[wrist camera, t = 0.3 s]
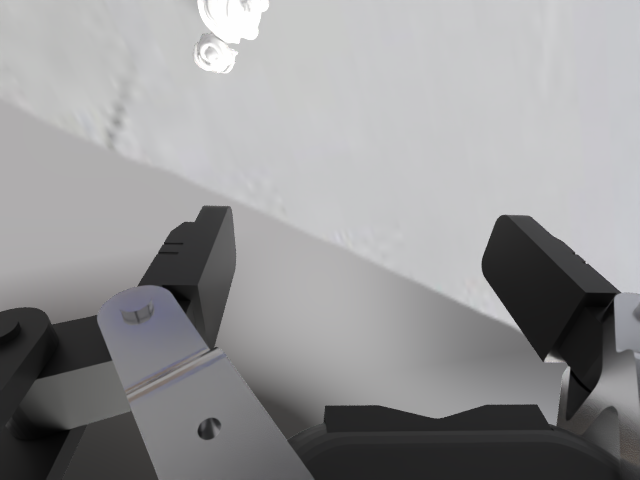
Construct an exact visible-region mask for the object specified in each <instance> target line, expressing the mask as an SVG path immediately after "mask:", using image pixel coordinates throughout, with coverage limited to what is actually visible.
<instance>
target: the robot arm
mask: <svg viewBox="0 0 640 480" xmlns="http://www.w3.org/2000/svg"><path fill="white" fill-rule="evenodd" d="M232 216H233V215H232V210H231V207H230V206H203V207H202V209H201V211H200V213H199V215H198V217H197V218H196V221H195V222H184V223H182V224H181V225H179V226H178V227H176V228H175V229H174V230H172V231H171V232H170V234H169V236H168V237H167V239H166V240H165V242H164V245H162V247H161V249H160V250H159V253H158V254H157V255H156V257H155V258H154V260H153V262H152V263H151V265H150V266H149V268H148V270H147V271H146V273H145V275H144V276H143V278H142V279H141V281H140V283H139V285H138V286H137V287H133V288H130V289H127V290H124V291H122V292H120V293H118V294H116V295H114V296H113V297H111V298H110V299H109V300H108V301H106V302H105V303H104V304H103V306H102V307H101V308H100V310H99V312H98V315H95V316H91V317H87V318H82V319H77V320H72V321H67V322H63V323H58V324H53V325H52V324H51V322H50V320H49V318H48V316H47V315H46V313H45V312H43V311H42V310H40V309H37V308H26V307H24V308H15V309H10V310H6V311H2V312H0V480H62V478H63V476H64V474H65V472H66V470H67V468H68V466H69V463H70V461H71V459H72V457H73V455H74V453H75V451H76V448H77V446H78V444H79V442H80V440H81V438H82V436H83V433H84V431H85V429H86V427H87V425H88V424H89V423H92V422H96V421H99V420H102V419H105V418H109V417H112V416H116V415H119V414H122V413H125V412H129V411H132V412H133V414H134V417H135V420H136V422H137V425H138V427H139V430H140V432H141V435H142V438H143V440H144V442H145V445H146V448H147V450H148V453H149V455H150V458H151V460H152V463H153V466H154V468H155V471H156V473H157V476H158V478H159V480H640V294H637V293H621V292H620V291H619V290H618V289H616V288H615V287H614V286H613V285H612V284H611V283H610V282H608V281H607V280H606V279H605V278H604V277H603V276H602V275H600V274H599V273H598V272H597V271H596V270H595V269H594V268H592V267H591V266H590V265H589V264H586V263H585V262H586V261H584V260H583V259H582V258H581V257H580V256H579V255H575V252H574V251H573V250H572V249H571V248H570V247H568V246H567V245H566V244H565V243H564V242H563V241H561V240H559V239H557V238H555V237H554V236H552V235H551V234H550V233H549V232H548V231H546V230H545V229H544V228H543V227H542V226H541V225H540V224H539V223H537V222H536V221H535V220H534V219H533V218H532V217H530V216H525V215H502V216H500V217H499V218H498V219H497V221H496V223H495V225H494V228H493V231H492V233H491V236H490V239H489V241H488V244H487V247H486V249H485V252H484V255H483V258H482V272H483V275H484V277H485V278H486V280H487V281H488V283H489V284H490V286H491V287H492V289H493V290H494V292H495V293H496V294H497V296H498V297H499V299H500V300H501V302H502V303H503V305H504V306H505V307H506V309H507V310H508V312H509V313H510V315H511V316H512V318H513V319H514V321H515V322H516V323H517V325H518V326H519V328H520V329H521V331H522V332H523V334H524V335H525V336H526V338H527V339H528V341H529V342H530V344H531V345H532V347H533V348H534V350H535V351H536V352H537V354H538V355H539V357H540V358H541V360H542V361H543V362H566V363H567V364H568V367H567V369H566V371H565V372H564V373H563V376H562V383H561V391H560V400H559V408H558V416H557V424H556V426H554V425H551V424H548V422H547V421H546V419H545V417H544V415H543V414H542V412H541V411H540V409H539V407H538V405H484V406H481V407H478V408H474V409H471V410H468V411H464V412H461V413H458V414H454V415H451V416H448V417H444V418H440V419H434V418H430V417H425V416H421V415H417V414H413V413H408V412H404V411H400V410H396V409H392V408H387V407H383V406H377V405H373V406H372V405H368V406H325V412H324V422H323V423H322V424H319V425H316V426H313V427H310V428H308V429H306V430H304V431H301V432H299V433H298V434H296V435H295V436H293V437H291V438H290V439H288V440H286V438H285V437H284V436H283V434H282V433H281V431H280V430H279V429H278V427H277V426H276V424H275V423H274V422H273V420H272V419H271V417H270V416H269V415H268V413H267V412H266V410H265V409H264V408H263V406H262V405H261V403H260V402H259V401H258V399H257V398H256V396H255V395H254V394H253V392H252V391H251V389H250V388H249V387H248V385H247V384H246V382H245V381H244V380H243V378H242V377H241V375H240V374H239V373H238V371H237V370H236V368H235V367H234V366H233V364H232V363H231V362H230V360H229V359H228V357H227V356H226V354H225V353H224V352H223V351H222V350H221V349H220V348H218V347H215V348H214V346H215V342H216V339H217V335H218V331H219V327H220V324H221V320H222V317H223V313H224V309H225V305H226V302H227V298H228V294H229V290H230V287H231V283H232V279H233V275H234V272H235V266H236V248H235V237H234V226H233V217H232Z"/></svg>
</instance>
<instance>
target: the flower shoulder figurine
mask: <svg viewBox="0 0 640 480" xmlns="http://www.w3.org/2000/svg"><path fill="white" fill-rule="evenodd" d="M268 6H269V0H198V8H199V12H200V15H201V17H202V20H203V21H204V23H205V24H206V26H207V27H208V28H209V29H210V30H211V34H208V33H207V34H202V36H201V38H200V40H199V43H198V42H197V43H196V44H195V47H194V52H193V57H194V61H195V63H196V64H197V65H198V66H199V67H200V68H202V69H204V70H206V71H213V72H215V73H217V74H218V73H219V72H222V71H223V70H224V69H226V67H227V65H230V67H229V68H228V70H227V71H226V72H222V73H228V72H229V71H230V70H231V69H232V68H233V65H234V64H235V62H236V61H235V55H237V54H238V52H237V51H236V50H234V49H230V48H229V47H228V44H229V43H237V44H238V43H239V42H240V38H245V39H249V40H252V39H255V38H256V37H257V35H258V32H259V30H258V24H259V22H260V18H261V12H264V11H266V10H267V9H268ZM197 52H198V55H197ZM216 71H219V72H216Z"/></svg>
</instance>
